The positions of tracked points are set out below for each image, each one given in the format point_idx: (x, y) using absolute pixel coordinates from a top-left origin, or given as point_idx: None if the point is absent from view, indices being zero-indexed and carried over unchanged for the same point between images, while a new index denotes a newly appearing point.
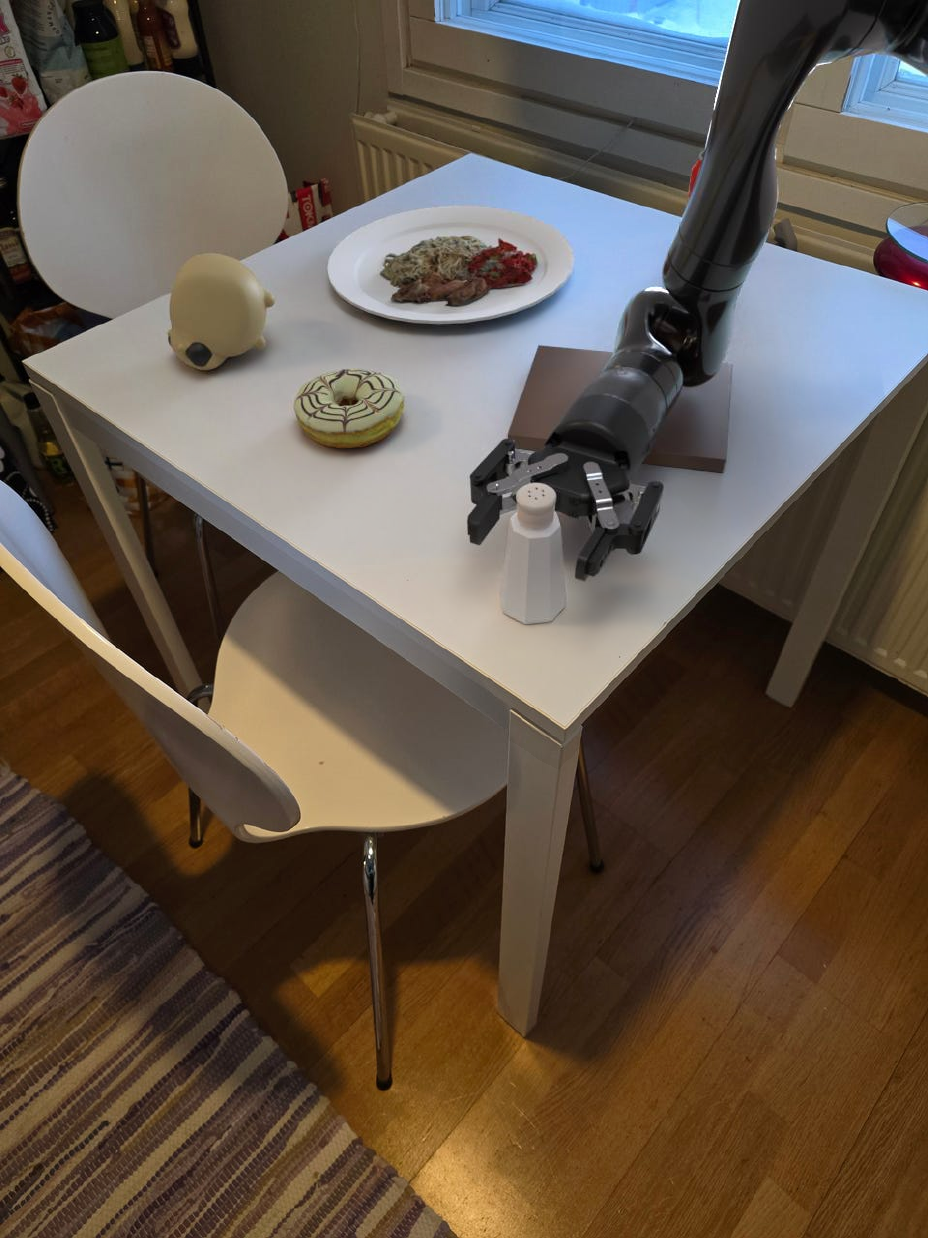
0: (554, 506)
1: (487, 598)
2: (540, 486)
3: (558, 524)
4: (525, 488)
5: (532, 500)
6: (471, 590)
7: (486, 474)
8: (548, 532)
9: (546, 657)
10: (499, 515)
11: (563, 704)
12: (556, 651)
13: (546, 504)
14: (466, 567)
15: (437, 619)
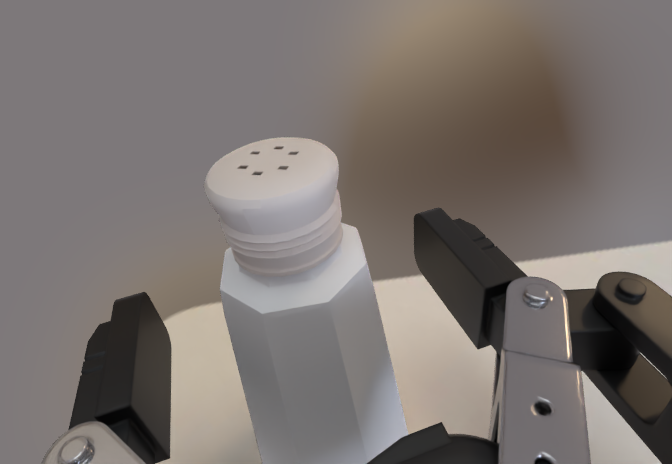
0: (225, 229)
1: (405, 374)
2: (277, 175)
3: (224, 283)
4: (314, 154)
5: (259, 146)
6: (443, 366)
7: (628, 315)
8: (230, 249)
9: (230, 361)
10: (477, 339)
11: (165, 325)
12: (221, 380)
13: (215, 163)
14: None
15: (420, 294)
